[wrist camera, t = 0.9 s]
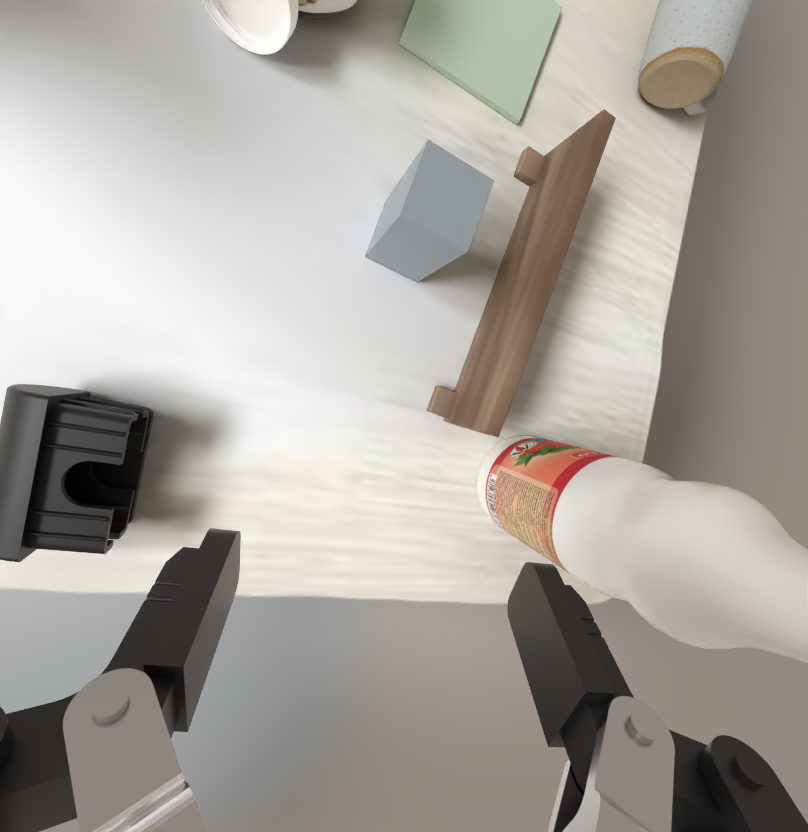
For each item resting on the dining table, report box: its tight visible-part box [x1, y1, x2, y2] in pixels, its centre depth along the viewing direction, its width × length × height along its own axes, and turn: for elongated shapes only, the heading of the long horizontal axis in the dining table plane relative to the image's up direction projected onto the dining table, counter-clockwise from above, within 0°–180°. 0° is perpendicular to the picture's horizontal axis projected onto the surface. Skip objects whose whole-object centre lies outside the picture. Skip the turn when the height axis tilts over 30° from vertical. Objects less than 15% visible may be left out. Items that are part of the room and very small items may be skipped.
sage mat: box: [399, 0, 562, 124], centre depth 36 cm, size 12×11×1 cm
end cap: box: [0, 384, 153, 562], centre depth 28 cm, size 10×7×7 cm
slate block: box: [365, 140, 494, 282], centre depth 32 cm, size 5×5×10 cm
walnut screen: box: [427, 110, 616, 437], centre depth 36 cm, size 5×26×8 cm, turn 159°
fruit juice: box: [476, 436, 808, 663], centre depth 29 cm, size 9×9×28 cm
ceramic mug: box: [639, 0, 753, 115], centre depth 40 cm, size 11×8×8 cm
